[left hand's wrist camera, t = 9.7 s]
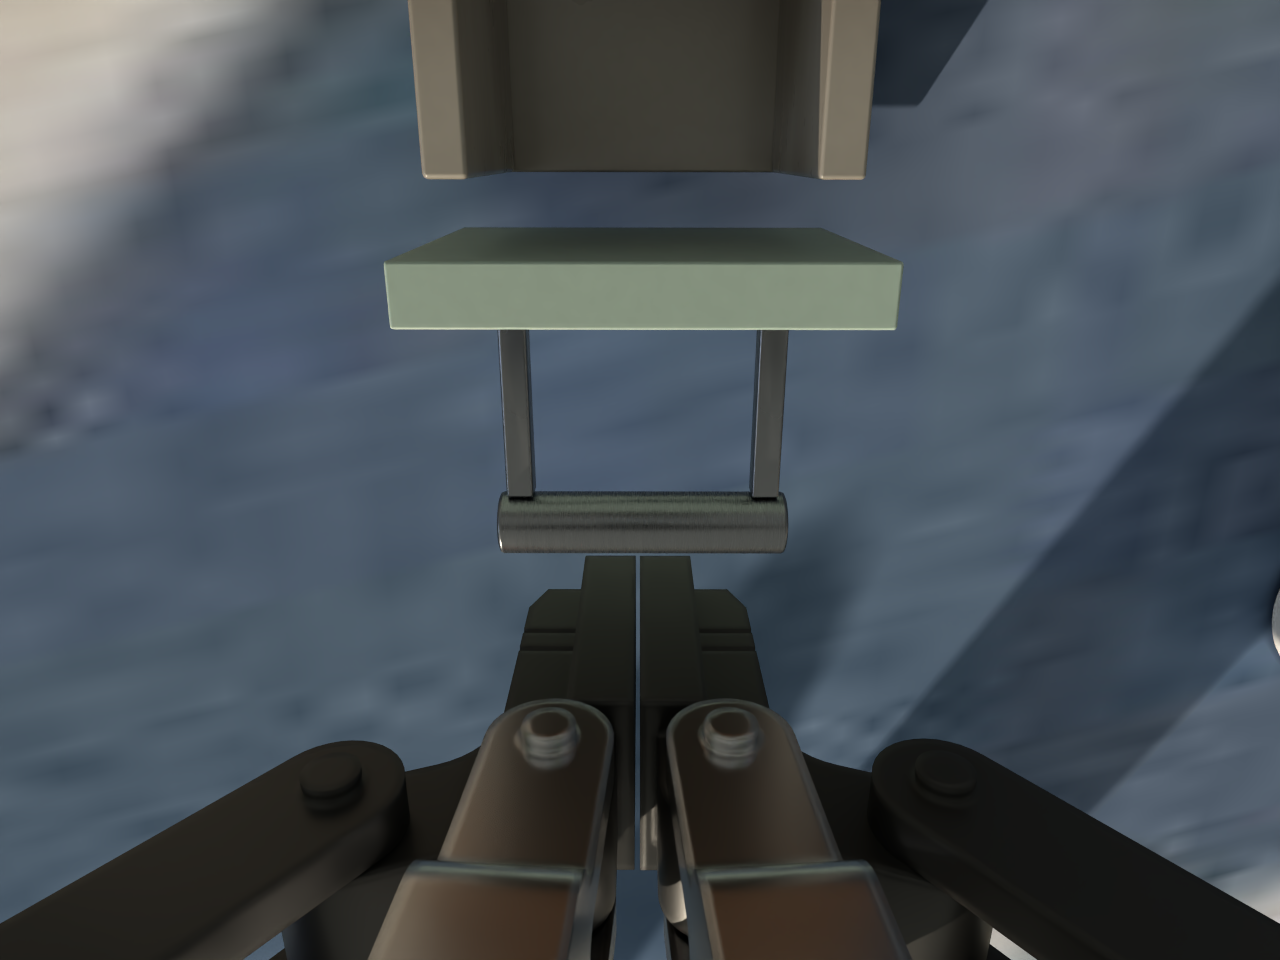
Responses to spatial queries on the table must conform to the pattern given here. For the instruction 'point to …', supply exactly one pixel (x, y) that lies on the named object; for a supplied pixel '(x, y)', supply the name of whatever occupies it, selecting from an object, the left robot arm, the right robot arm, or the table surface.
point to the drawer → (643, 257)
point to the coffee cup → (1276, 622)
